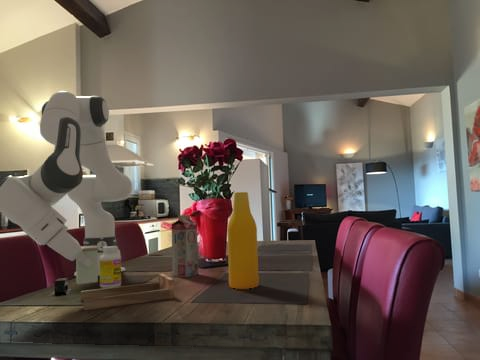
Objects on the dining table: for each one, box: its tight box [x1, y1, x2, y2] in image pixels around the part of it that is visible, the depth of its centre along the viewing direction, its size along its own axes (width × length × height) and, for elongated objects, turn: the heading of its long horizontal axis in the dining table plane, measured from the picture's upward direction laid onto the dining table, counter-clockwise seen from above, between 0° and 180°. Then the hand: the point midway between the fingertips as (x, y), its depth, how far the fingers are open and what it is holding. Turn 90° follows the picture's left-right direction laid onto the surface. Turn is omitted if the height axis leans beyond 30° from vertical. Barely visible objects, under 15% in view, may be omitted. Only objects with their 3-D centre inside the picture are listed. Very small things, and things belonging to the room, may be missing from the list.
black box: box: [47, 277, 73, 298], centre depth 118 cm, size 12×7×5 cm, turn 12°
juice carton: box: [171, 214, 199, 278], centre depth 142 cm, size 7×7×22 cm
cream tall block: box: [75, 245, 99, 285], centre depth 103 cm, size 5×5×9 cm
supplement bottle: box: [99, 245, 122, 289], centre depth 125 cm, size 7×7×13 cm
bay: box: [80, 272, 175, 311], centre depth 107 cm, size 12×23×5 cm, turn 116°
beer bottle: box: [227, 191, 260, 290], centre depth 119 cm, size 9×9×29 cm
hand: (89, 262), depth 104 cm, fingers closed on cream tall block, 5 cm apart
